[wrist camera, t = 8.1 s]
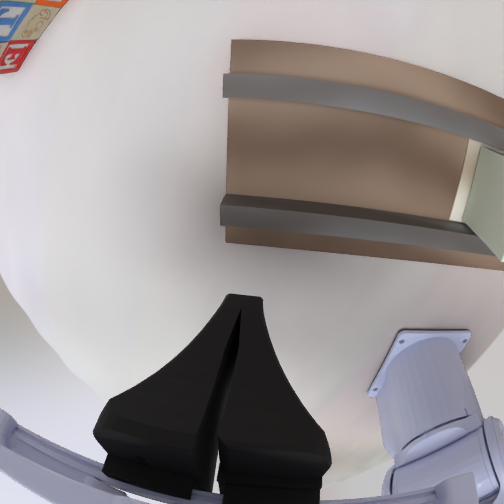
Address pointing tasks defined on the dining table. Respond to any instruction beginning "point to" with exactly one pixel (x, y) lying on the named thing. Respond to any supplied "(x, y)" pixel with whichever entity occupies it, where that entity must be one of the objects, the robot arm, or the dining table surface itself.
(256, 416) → the robot arm
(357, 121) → the chute
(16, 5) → the stack of blocks
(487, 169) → the sage block
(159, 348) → the dining table surface
